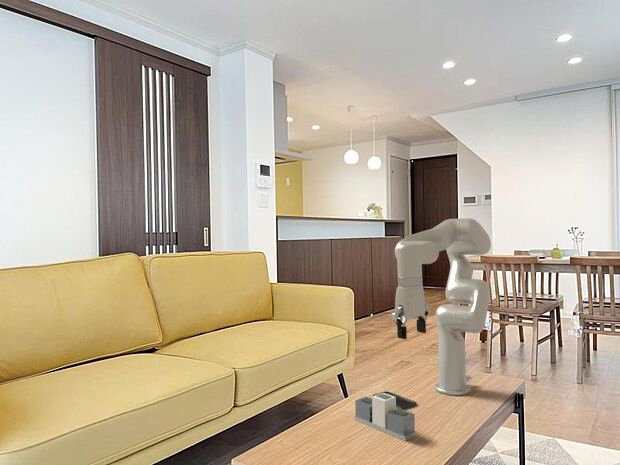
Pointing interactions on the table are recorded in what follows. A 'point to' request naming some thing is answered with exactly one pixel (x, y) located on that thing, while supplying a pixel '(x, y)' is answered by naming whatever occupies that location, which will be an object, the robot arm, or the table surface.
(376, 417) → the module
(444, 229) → the robot arm
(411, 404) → the phone
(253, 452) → the table surface
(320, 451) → the table surface
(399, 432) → the rail
